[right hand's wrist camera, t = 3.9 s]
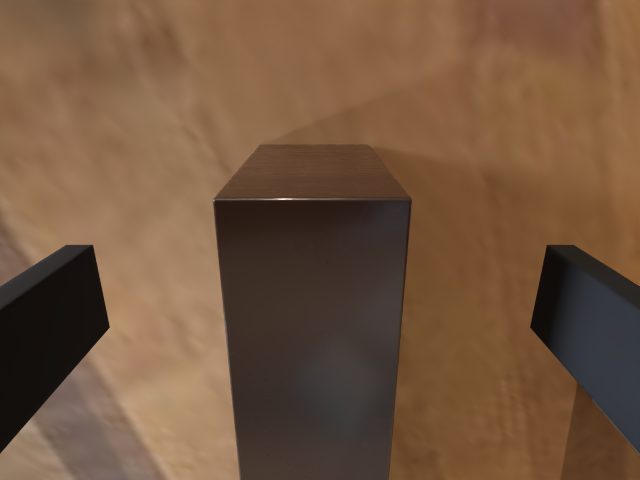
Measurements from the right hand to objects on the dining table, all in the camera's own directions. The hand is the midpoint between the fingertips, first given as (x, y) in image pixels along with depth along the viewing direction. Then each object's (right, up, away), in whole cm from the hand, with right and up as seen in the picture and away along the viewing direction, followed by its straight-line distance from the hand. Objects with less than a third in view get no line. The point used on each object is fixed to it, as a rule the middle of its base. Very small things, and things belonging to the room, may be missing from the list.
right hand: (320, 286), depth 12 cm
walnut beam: (0, -6, +9) cm, 10 cm away
